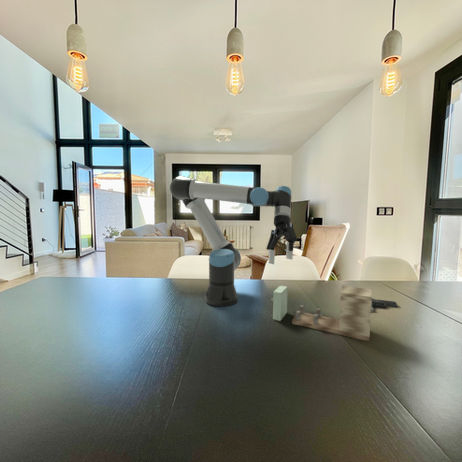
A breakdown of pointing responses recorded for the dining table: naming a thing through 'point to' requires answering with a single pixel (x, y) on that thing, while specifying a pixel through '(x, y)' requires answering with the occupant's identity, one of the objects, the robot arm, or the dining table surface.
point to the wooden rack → (343, 315)
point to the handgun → (382, 304)
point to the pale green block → (279, 302)
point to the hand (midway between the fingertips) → (279, 261)
